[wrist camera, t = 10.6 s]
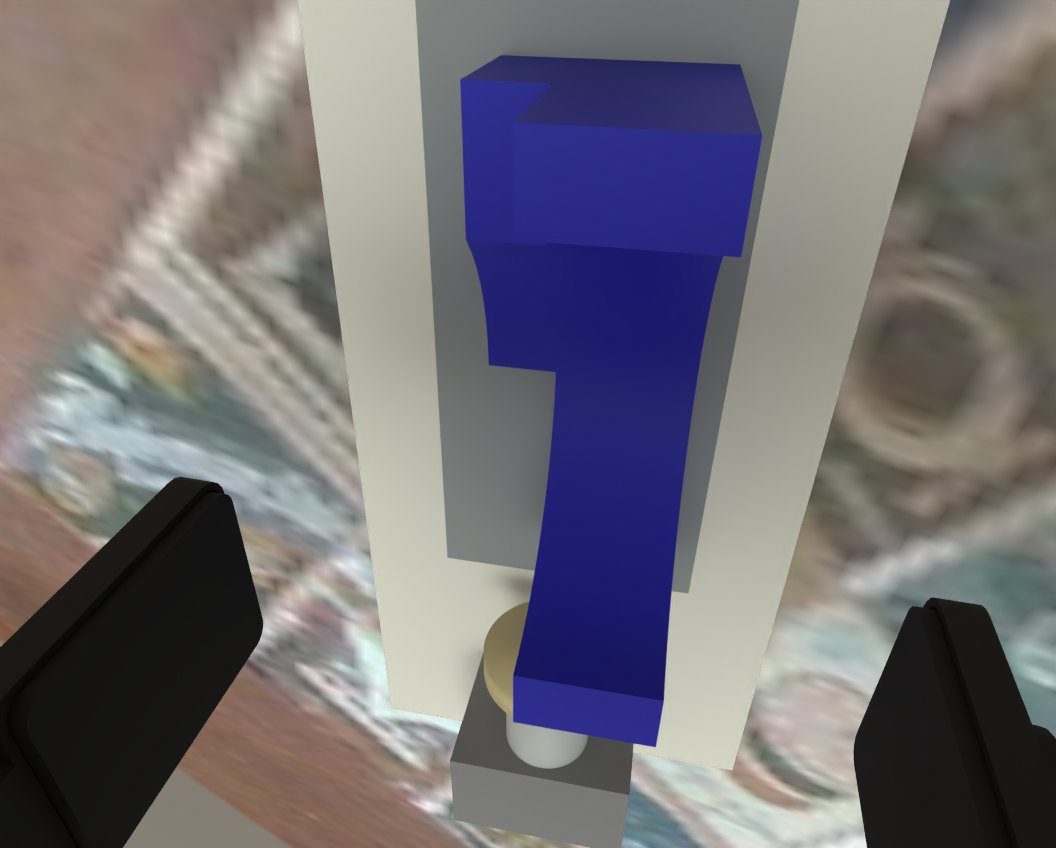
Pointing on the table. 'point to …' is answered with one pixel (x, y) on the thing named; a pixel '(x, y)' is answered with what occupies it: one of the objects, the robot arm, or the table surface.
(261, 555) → the table surface
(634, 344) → the blue cradle bracket
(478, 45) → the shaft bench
